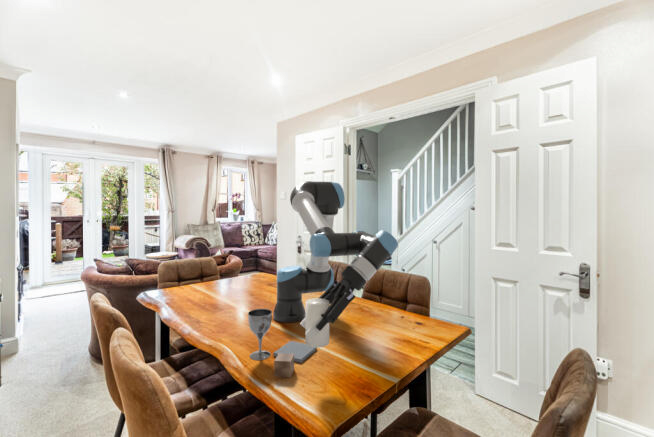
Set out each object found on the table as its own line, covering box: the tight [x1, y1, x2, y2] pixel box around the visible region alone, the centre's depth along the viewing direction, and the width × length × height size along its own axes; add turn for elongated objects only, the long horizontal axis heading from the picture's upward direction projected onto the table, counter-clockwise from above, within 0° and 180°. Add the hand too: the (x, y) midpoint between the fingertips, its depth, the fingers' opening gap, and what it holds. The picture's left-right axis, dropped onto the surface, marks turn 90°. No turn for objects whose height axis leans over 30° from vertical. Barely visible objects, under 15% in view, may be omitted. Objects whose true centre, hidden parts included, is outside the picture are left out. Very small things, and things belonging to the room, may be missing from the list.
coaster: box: [273, 340, 318, 364], centre depth 108 cm, size 11×11×1 cm
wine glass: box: [247, 308, 273, 361], centre depth 106 cm, size 8×8×15 cm
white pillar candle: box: [305, 297, 330, 348], centre depth 91 cm, size 7×7×12 cm
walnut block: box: [273, 353, 295, 379], centre depth 95 cm, size 5×5×5 cm
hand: (305, 331), depth 90 cm, fingers closed on white pillar candle, 7 cm apart
